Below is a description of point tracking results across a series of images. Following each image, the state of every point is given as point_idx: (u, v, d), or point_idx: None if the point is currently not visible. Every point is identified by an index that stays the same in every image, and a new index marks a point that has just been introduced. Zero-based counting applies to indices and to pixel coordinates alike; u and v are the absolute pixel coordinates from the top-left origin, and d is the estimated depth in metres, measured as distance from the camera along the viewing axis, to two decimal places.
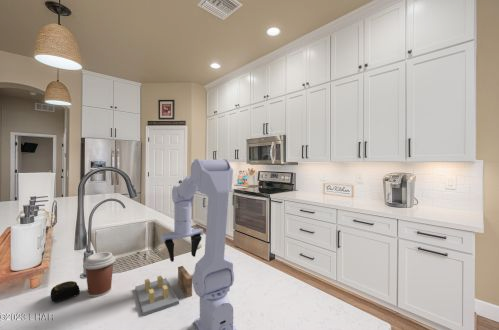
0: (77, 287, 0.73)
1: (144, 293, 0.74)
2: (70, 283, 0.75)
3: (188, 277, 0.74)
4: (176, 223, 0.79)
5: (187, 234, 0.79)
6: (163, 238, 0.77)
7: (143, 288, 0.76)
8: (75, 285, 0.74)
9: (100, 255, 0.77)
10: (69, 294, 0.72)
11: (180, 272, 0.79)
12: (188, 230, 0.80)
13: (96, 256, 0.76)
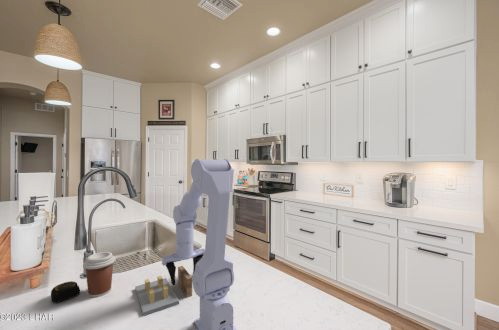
0: (77, 287, 0.73)
1: (144, 293, 0.74)
2: (70, 283, 0.75)
3: (188, 277, 0.74)
4: (178, 245, 0.75)
5: (189, 256, 0.76)
6: (164, 261, 0.73)
7: (143, 288, 0.76)
8: (75, 285, 0.74)
9: (100, 255, 0.77)
10: (69, 294, 0.71)
11: (180, 272, 0.79)
12: (190, 252, 0.76)
13: (96, 256, 0.76)
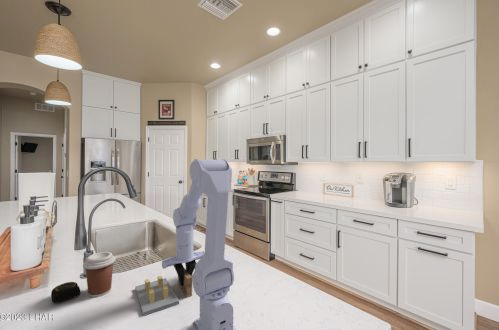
0: (78, 288, 0.73)
1: (144, 293, 0.74)
2: (70, 284, 0.74)
3: (188, 277, 0.74)
4: (178, 248, 0.75)
5: (189, 259, 0.76)
6: (164, 264, 0.73)
7: (143, 288, 0.76)
8: (76, 286, 0.73)
9: (100, 255, 0.77)
10: (70, 295, 0.71)
11: None
12: (190, 255, 0.76)
13: (96, 256, 0.76)
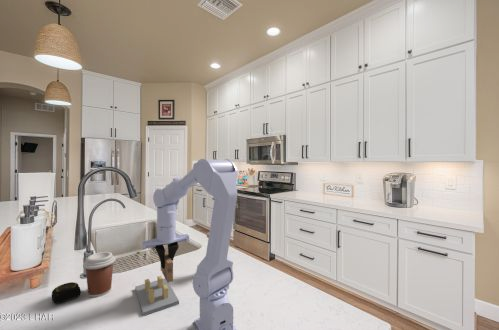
0: (78, 288, 0.73)
1: (144, 293, 0.74)
2: (71, 284, 0.74)
3: (169, 262, 0.71)
4: (158, 229, 0.73)
5: (170, 241, 0.73)
6: (143, 245, 0.70)
7: (143, 288, 0.76)
8: (76, 286, 0.73)
9: (100, 255, 0.77)
10: (70, 295, 0.71)
11: None
12: (172, 236, 0.73)
13: (96, 256, 0.76)
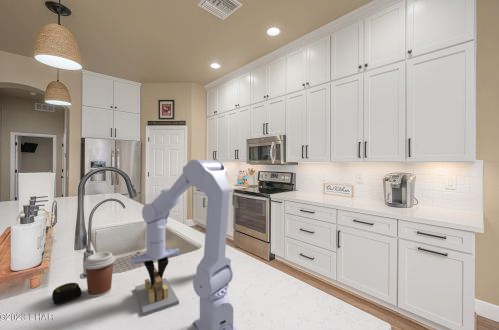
0: (79, 289, 0.72)
1: (144, 293, 0.74)
2: (72, 285, 0.74)
3: (158, 280, 0.70)
4: (148, 244, 0.71)
5: (160, 257, 0.72)
6: (132, 262, 0.69)
7: (143, 288, 0.76)
8: (77, 287, 0.73)
9: (100, 255, 0.77)
10: (71, 296, 0.71)
11: None
12: (161, 252, 0.72)
13: (96, 256, 0.76)
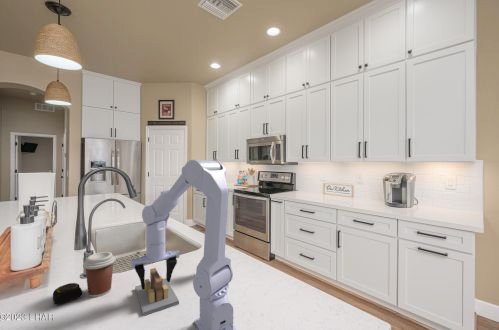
0: (79, 289, 0.72)
1: (144, 293, 0.74)
2: (72, 285, 0.74)
3: (158, 280, 0.70)
4: (148, 246, 0.71)
5: (160, 259, 0.72)
6: (132, 264, 0.69)
7: None
8: (77, 287, 0.73)
9: (100, 255, 0.77)
10: (71, 296, 0.70)
11: (152, 275, 0.75)
12: (161, 254, 0.72)
13: (96, 256, 0.76)
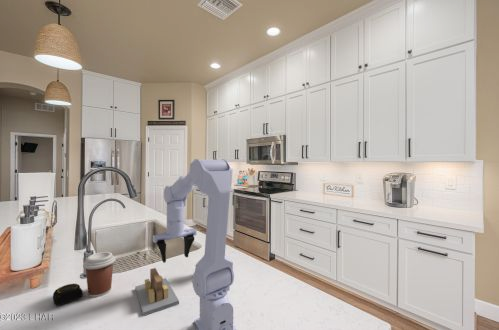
0: (80, 290, 0.72)
1: (144, 293, 0.74)
2: (72, 286, 0.73)
3: (158, 280, 0.70)
4: (168, 223, 0.77)
5: (179, 234, 0.78)
6: (154, 239, 0.75)
7: (143, 288, 0.76)
8: (78, 288, 0.72)
9: (100, 255, 0.77)
10: (72, 297, 0.70)
11: (152, 275, 0.75)
12: (180, 230, 0.78)
13: (96, 256, 0.76)
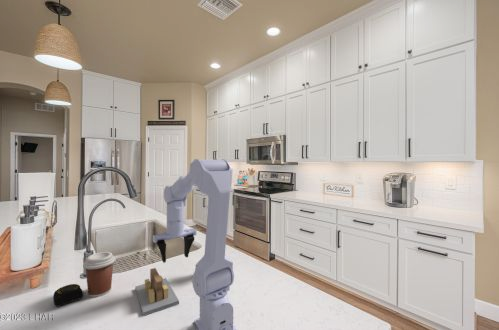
0: (80, 290, 0.71)
1: (144, 293, 0.74)
2: (73, 286, 0.73)
3: (158, 280, 0.70)
4: (168, 223, 0.77)
5: (179, 234, 0.78)
6: (154, 239, 0.75)
7: (143, 288, 0.76)
8: (78, 288, 0.72)
9: (100, 255, 0.77)
10: (72, 297, 0.70)
11: (152, 275, 0.75)
12: (180, 230, 0.78)
13: (96, 256, 0.76)
